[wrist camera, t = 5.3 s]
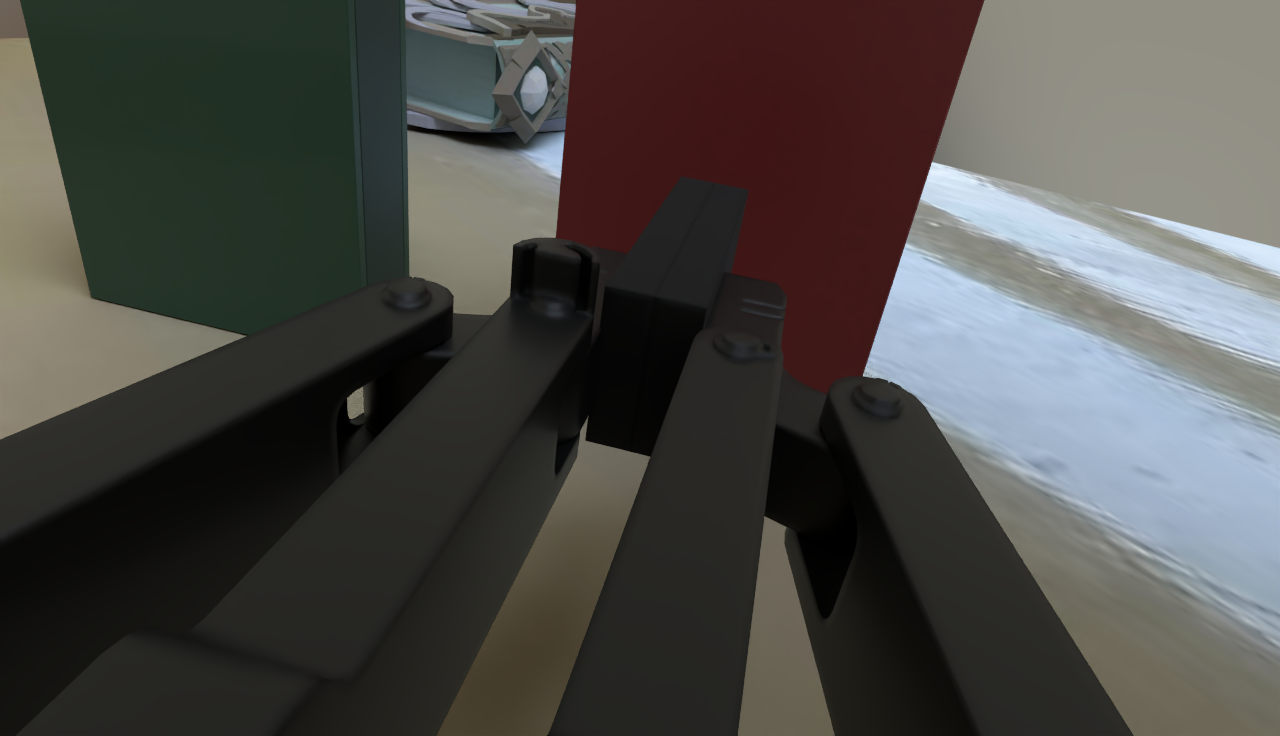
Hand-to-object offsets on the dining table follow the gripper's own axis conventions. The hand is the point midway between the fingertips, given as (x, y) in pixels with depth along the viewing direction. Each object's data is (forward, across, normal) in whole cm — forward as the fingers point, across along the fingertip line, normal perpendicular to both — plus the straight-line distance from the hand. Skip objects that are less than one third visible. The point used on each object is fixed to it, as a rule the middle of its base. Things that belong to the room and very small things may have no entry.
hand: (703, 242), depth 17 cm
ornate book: (+49, -23, -9) cm, 55 cm away
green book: (+7, -17, -9) cm, 20 cm away
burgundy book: (+7, 0, -9) cm, 11 cm away
